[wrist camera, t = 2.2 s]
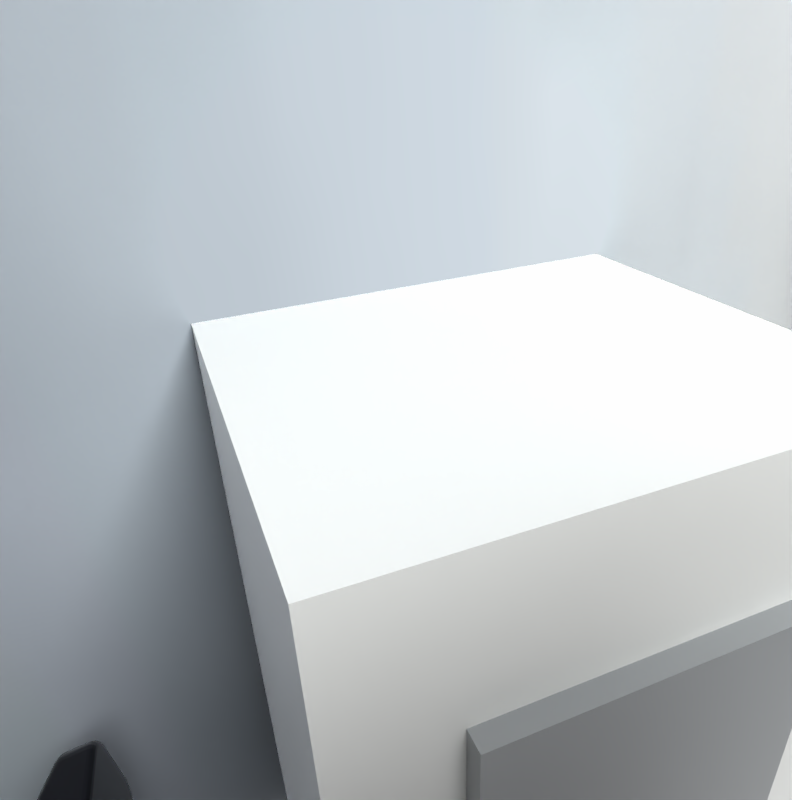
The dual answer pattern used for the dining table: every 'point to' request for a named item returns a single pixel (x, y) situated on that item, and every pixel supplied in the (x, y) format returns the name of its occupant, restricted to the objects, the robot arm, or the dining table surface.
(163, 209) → the dining table surface
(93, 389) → the dining table surface
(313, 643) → the box
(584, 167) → the dining table surface
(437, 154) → the dining table surface
